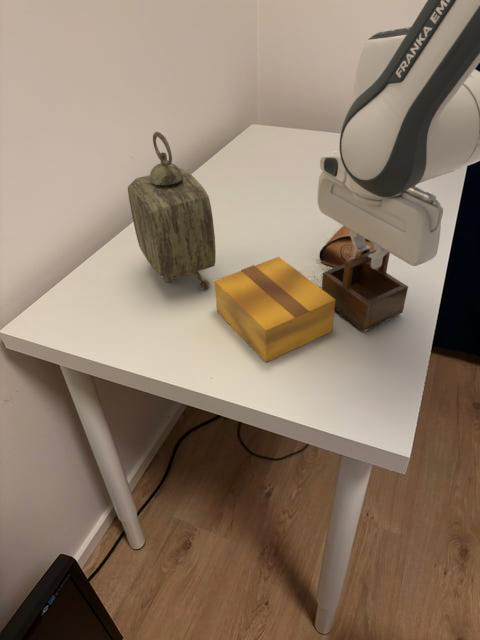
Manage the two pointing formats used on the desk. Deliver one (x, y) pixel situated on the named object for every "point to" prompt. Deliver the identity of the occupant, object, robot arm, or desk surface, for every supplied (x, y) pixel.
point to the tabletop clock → (173, 219)
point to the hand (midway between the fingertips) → (367, 261)
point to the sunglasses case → (340, 248)
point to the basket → (365, 291)
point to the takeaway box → (274, 307)
